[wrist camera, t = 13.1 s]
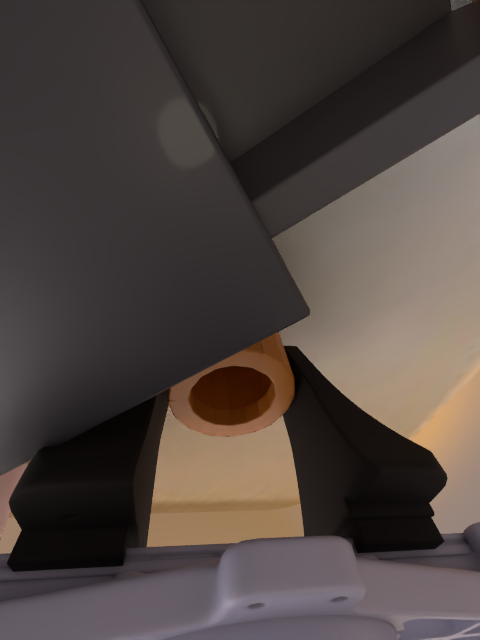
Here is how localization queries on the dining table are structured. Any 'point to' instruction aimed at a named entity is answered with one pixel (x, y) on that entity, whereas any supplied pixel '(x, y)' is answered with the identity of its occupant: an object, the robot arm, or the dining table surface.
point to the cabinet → (115, 226)
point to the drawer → (322, 88)
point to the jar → (237, 392)
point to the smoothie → (8, 492)
